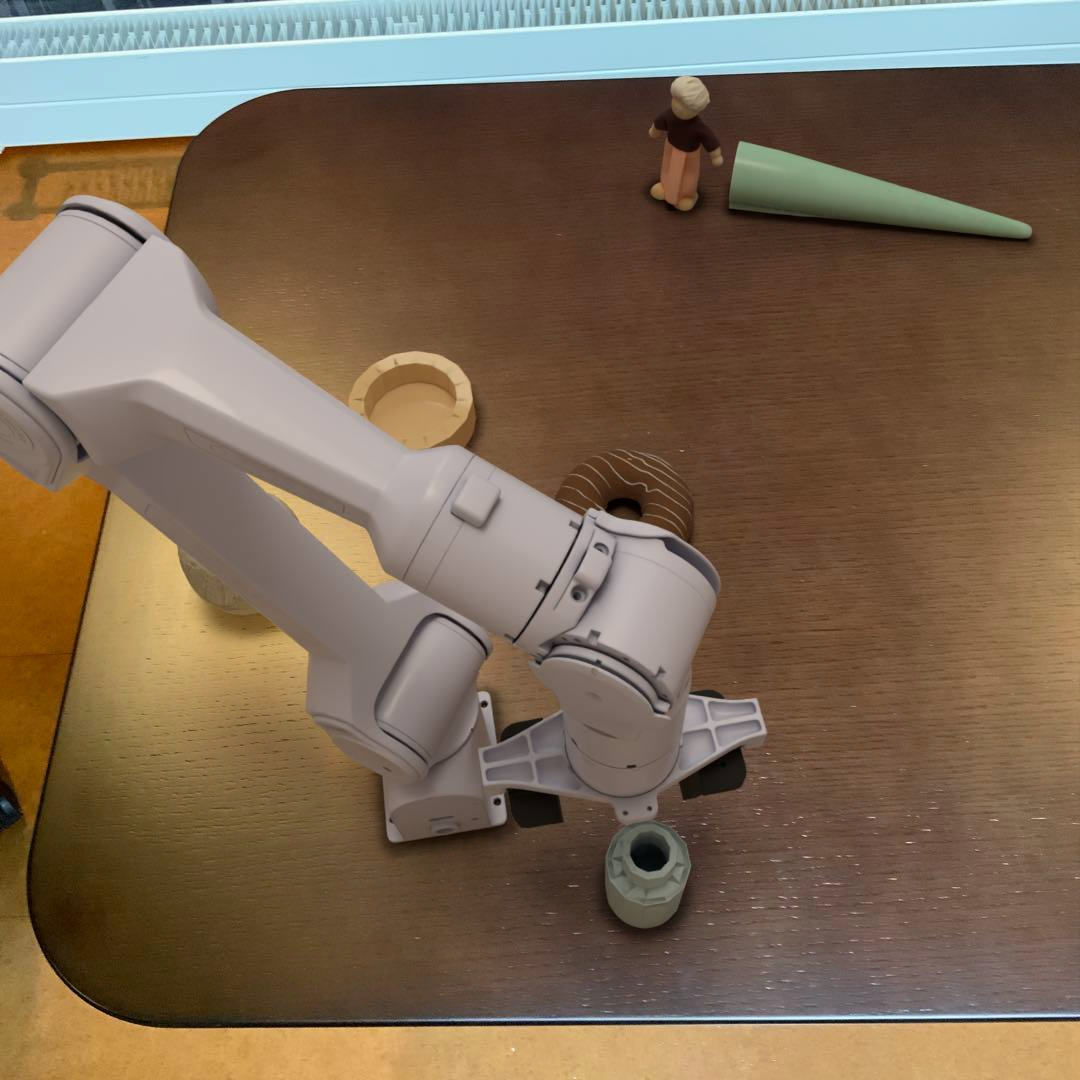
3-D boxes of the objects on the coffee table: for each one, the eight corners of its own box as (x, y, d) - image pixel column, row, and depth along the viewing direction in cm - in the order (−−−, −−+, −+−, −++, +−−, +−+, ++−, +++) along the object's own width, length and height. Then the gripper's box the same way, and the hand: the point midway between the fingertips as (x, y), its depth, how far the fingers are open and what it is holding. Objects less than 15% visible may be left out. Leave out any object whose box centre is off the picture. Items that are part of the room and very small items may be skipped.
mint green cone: (1051, 212, 88) (732, 168, 92) (1028, 260, 92) (725, 216, 97) (1052, 168, 90) (742, 128, 95) (1029, 217, 95) (735, 176, 99)
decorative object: (206, 644, 78) (157, 581, 69) (202, 544, 82) (156, 473, 73) (325, 620, 78) (291, 555, 69) (314, 522, 82) (281, 449, 74)
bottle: (688, 921, 66) (701, 887, 57) (613, 934, 66) (615, 902, 57) (672, 845, 69) (682, 802, 60) (599, 857, 68) (599, 816, 60)
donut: (583, 603, 78) (582, 578, 74) (535, 491, 83) (533, 463, 79) (715, 558, 79) (721, 531, 76) (660, 451, 84) (663, 421, 81)
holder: (482, 461, 84) (479, 440, 82) (359, 481, 84) (352, 459, 82) (468, 366, 90) (464, 343, 87) (351, 384, 89) (344, 361, 87)
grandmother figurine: (633, 199, 99) (638, 80, 88) (650, 173, 100) (657, 54, 89) (709, 224, 97) (723, 105, 86) (725, 197, 98) (741, 78, 87)
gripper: (482, 822, 47) (507, 887, 58) (799, 763, 47) (760, 839, 59) (461, 677, 50) (488, 766, 62) (756, 624, 51) (728, 722, 63)
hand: (619, 794), depth 61 cm, fingers open, 7 cm apart
